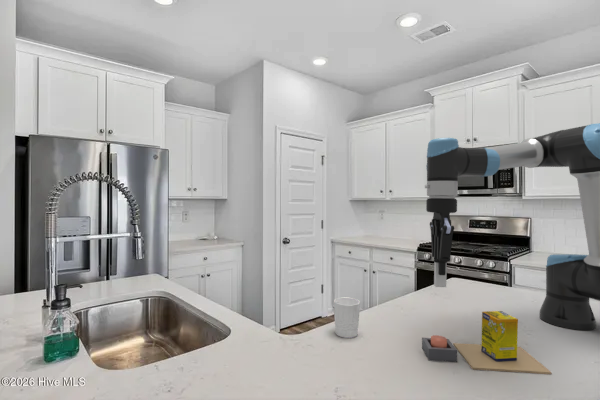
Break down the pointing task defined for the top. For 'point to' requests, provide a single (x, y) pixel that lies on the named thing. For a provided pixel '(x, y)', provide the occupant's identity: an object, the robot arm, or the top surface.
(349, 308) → the white cup
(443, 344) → the button
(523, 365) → the thin tan board
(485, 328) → the supplement box
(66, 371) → the top surface
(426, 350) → the button housing
